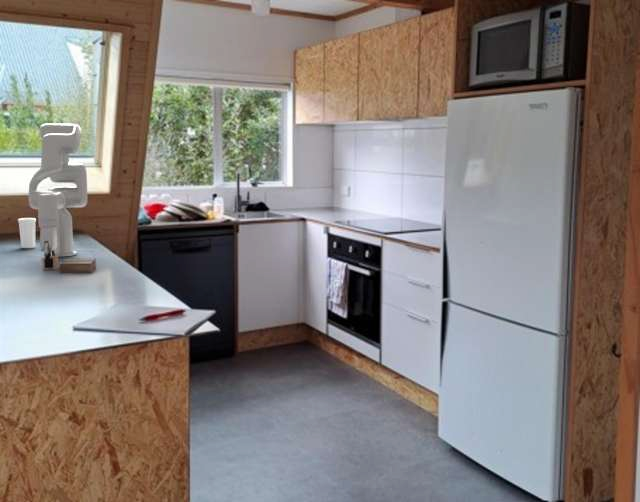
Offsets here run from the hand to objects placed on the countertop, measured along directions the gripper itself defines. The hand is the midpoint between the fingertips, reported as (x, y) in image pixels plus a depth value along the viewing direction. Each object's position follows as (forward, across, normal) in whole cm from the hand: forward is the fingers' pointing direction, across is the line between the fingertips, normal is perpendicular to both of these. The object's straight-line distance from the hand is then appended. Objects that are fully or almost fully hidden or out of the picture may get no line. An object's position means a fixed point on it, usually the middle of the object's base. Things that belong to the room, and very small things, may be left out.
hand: (50, 266), depth 276 cm
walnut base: (+1, +5, +12) cm, 13 cm away
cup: (+1, -52, -22) cm, 56 cm away
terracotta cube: (+1, 0, 0) cm, 1 cm away
